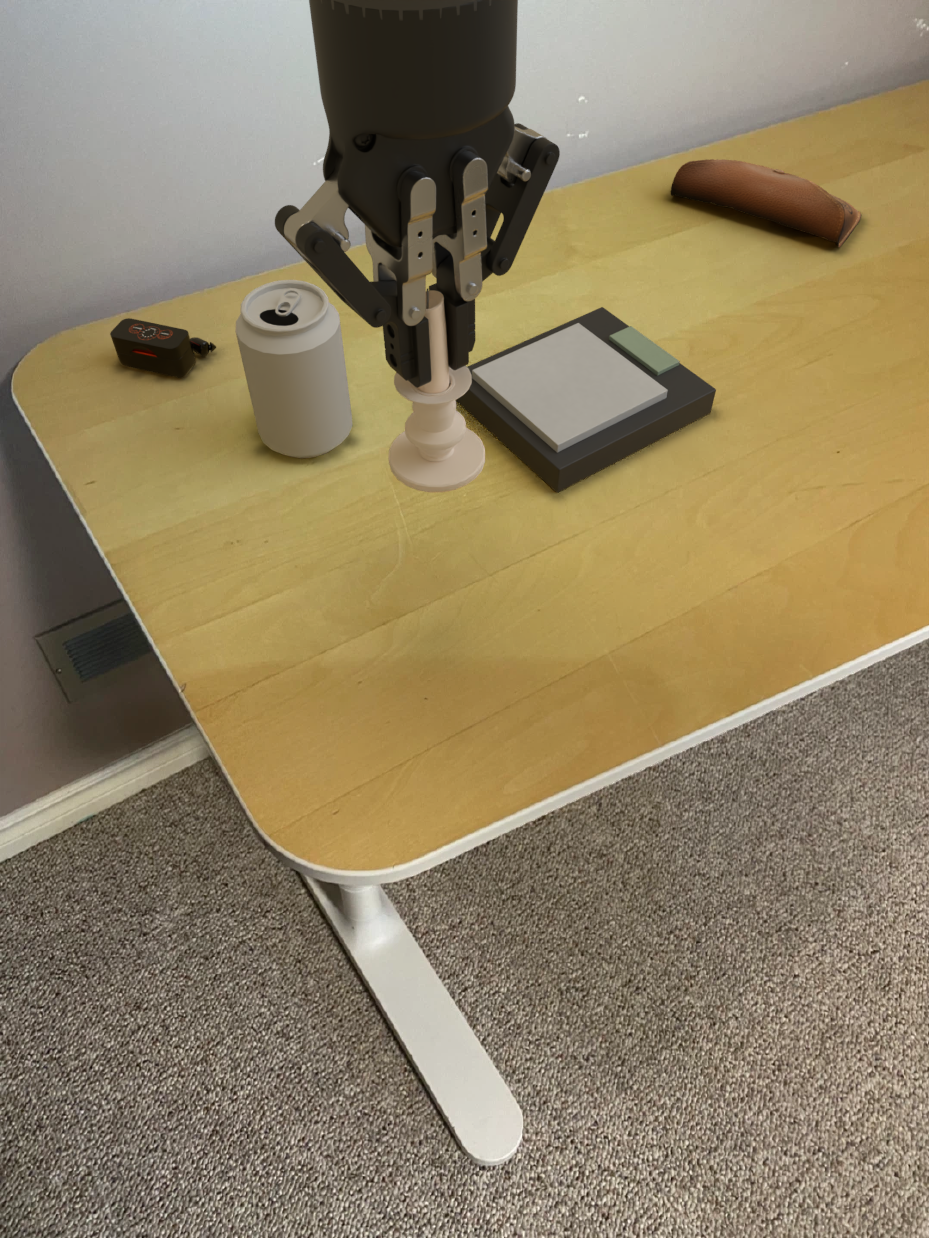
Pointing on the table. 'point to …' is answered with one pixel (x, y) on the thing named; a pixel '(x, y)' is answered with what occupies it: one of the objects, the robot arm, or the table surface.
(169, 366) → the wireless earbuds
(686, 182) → the sunglasses case
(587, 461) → the scale
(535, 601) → the table surface
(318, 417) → the can
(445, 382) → the candle
